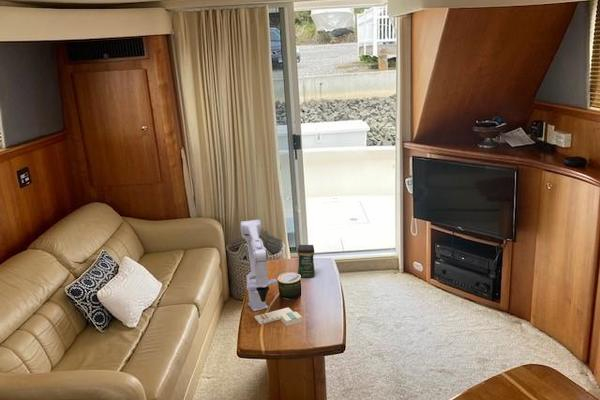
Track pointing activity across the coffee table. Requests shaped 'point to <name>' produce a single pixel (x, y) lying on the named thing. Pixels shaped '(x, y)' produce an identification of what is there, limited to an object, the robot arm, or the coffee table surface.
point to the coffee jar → (306, 261)
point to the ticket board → (272, 315)
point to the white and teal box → (291, 318)
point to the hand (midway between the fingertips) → (262, 300)
